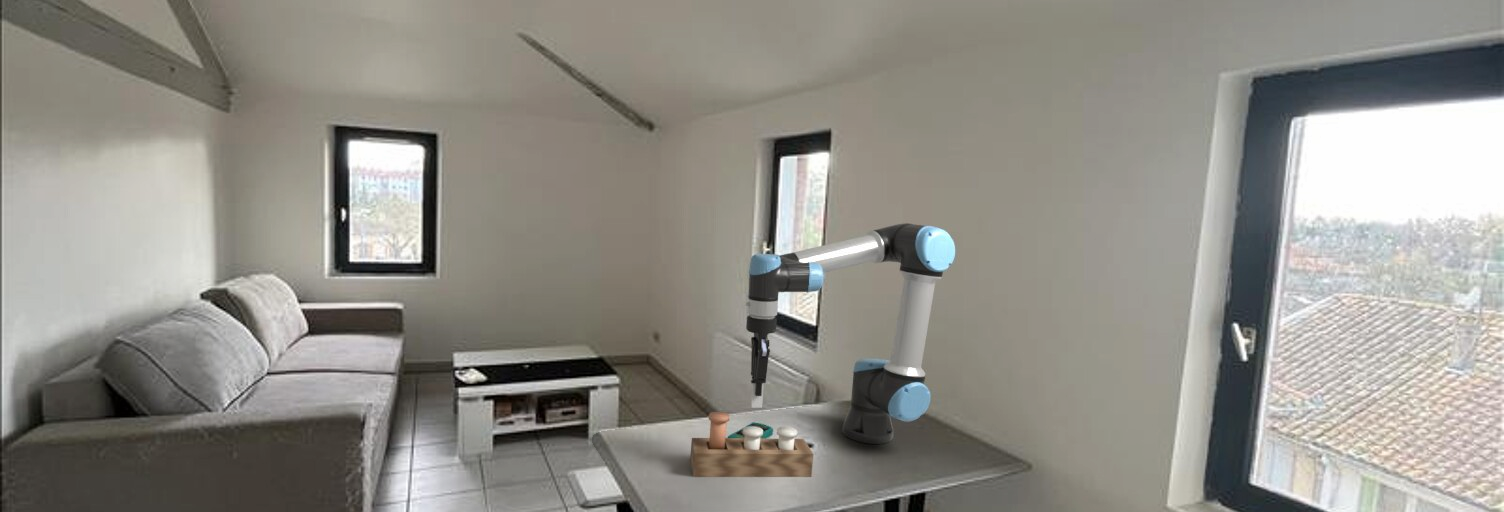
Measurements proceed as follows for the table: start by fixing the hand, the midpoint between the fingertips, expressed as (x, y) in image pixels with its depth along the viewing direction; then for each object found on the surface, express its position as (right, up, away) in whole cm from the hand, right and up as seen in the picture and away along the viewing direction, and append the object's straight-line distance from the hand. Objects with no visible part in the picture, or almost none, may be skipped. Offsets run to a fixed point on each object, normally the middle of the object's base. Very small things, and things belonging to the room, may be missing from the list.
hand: (756, 406), depth 173 cm
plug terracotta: (-10, -11, 0) cm, 15 cm away
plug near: (+7, -15, +3) cm, 17 cm away
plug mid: (-2, -15, +1) cm, 15 cm away
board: (-2, -16, +2) cm, 16 cm away
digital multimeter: (-2, -15, +22) cm, 26 cm away
